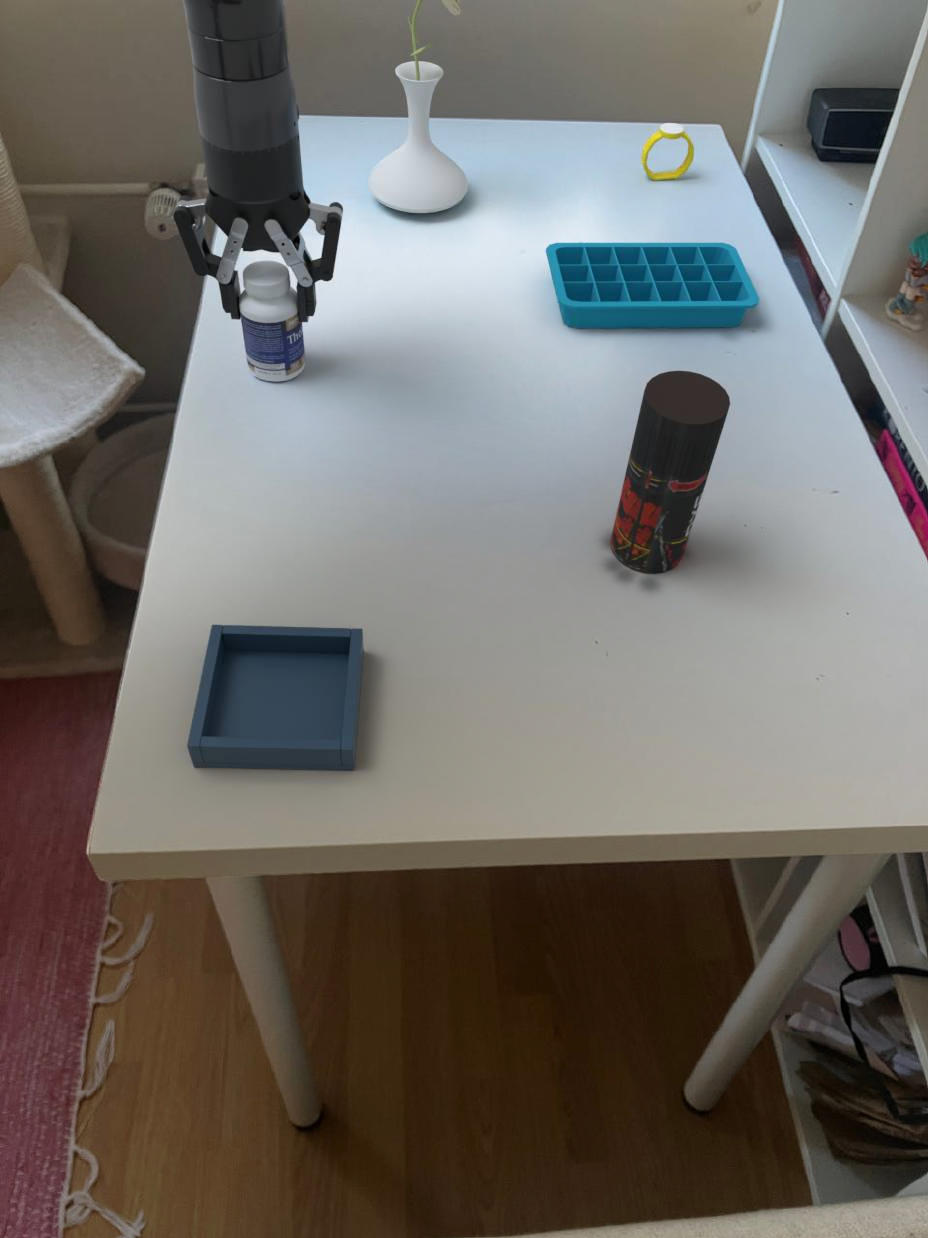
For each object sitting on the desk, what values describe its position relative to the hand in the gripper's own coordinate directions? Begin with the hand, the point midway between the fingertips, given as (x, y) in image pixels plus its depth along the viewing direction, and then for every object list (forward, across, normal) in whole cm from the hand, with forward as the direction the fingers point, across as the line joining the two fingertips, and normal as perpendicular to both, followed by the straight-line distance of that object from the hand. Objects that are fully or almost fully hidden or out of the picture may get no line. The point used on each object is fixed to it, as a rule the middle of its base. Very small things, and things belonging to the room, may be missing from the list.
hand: (271, 315), depth 90 cm
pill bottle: (+6, 0, 0) cm, 6 cm away
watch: (+6, +42, +40) cm, 58 cm away
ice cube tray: (+6, +36, +14) cm, 39 cm away
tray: (+5, +5, -38) cm, 39 cm away
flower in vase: (+6, +12, +33) cm, 36 cm away
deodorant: (+6, +32, -22) cm, 39 cm away
